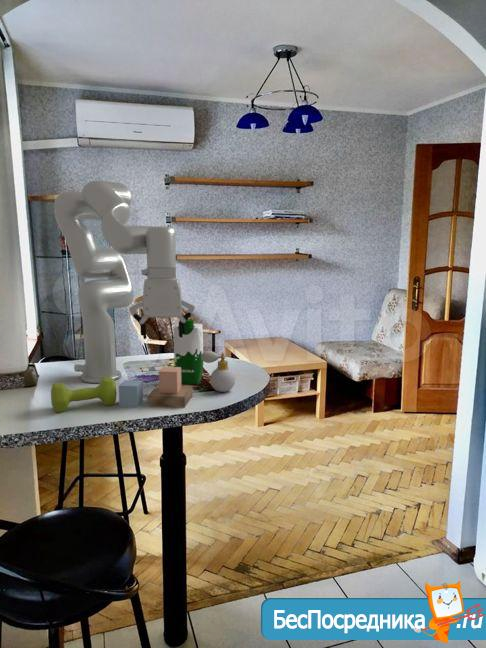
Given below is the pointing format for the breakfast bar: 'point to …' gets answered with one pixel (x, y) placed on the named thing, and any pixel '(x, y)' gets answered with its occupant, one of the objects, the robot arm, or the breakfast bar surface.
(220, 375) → the perfume bottle
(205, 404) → the breakfast bar surface
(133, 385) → the slate block
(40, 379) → the breakfast bar surface
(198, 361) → the milk carton
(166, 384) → the terracotta block
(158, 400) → the walnut base
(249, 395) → the breakfast bar surface
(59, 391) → the dumbbell
